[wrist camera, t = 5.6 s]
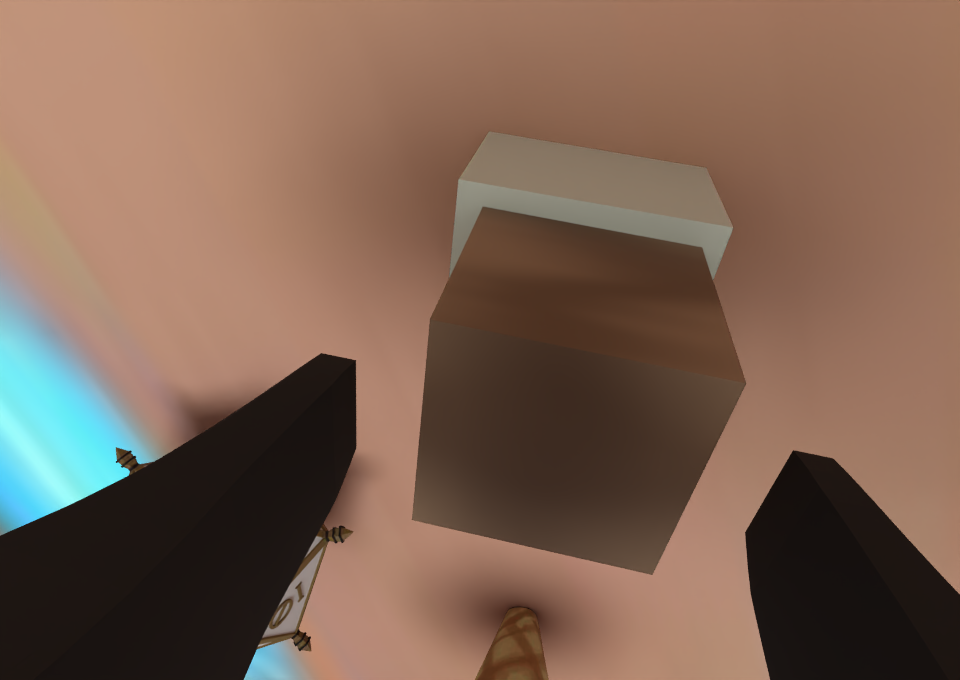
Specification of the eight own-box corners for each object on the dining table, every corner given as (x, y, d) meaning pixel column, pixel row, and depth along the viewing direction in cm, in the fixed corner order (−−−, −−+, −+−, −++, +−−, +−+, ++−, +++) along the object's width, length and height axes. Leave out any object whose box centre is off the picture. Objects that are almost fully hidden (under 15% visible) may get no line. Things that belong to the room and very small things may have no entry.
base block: (705, 165, 15) (733, 227, 12) (645, 343, 18) (653, 432, 15) (490, 129, 15) (458, 179, 12) (468, 309, 18) (438, 388, 15)
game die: (266, 393, 27) (-4, 424, 18) (412, 431, 22) (141, 495, 14) (255, 582, 28) (-10, 695, 19) (393, 655, 23) (126, 845, 15)
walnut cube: (702, 247, 12) (746, 383, 8) (639, 413, 14) (651, 574, 11) (482, 206, 12) (429, 319, 9) (460, 376, 15) (412, 520, 11)
